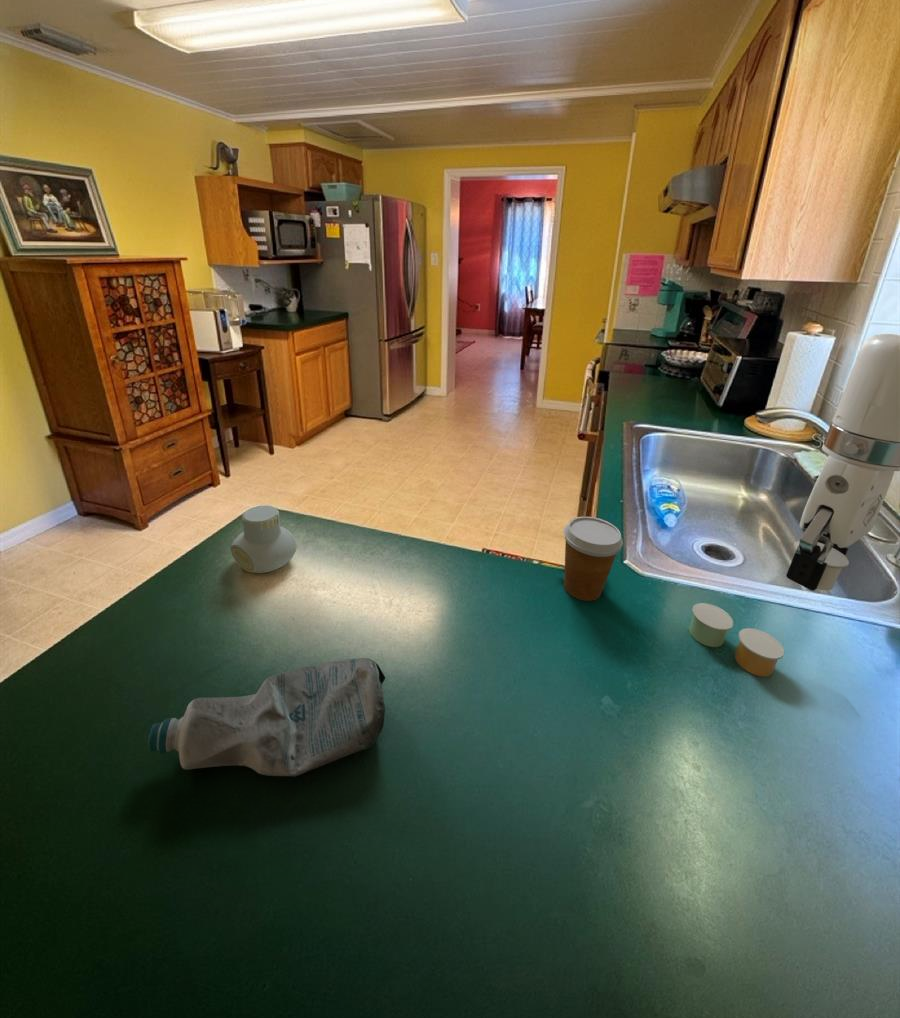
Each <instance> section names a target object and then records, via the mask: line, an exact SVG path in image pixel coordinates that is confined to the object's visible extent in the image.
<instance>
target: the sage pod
mask: <svg viewBox="0 0 900 1018" xmlns="http://www.w3.org/2000/svg"><path fill="white" fill-rule="evenodd" d="M691 609H692V610H691V612H692V615H693V616H692V619H691V622H690V624H689V625H690V626H689V628H688V630H689V631H688V632H689V634H690V636H691V637H692V638H693V639H694V640H695V641H697V642H698V643H700V644H701V645H704V646H706V647H710V648H719V647H721V646H722V645H724V642H725V639H726V637H727V634H728V631H730V630H732V628H733V627H734V626H733V625H734V620H733V618H732V616H731V615H730V614H729V613H728V612H726V611H725V610H724V609H722V608H721V607H720V606H717V605H714V604H711V603H706V602H699V603H696V604H694V605H693V606H692V608H691Z"/></svg>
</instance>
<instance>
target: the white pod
mask: <svg viewBox="0 0 900 1018" xmlns="http://www.w3.org/2000/svg"><path fill="white" fill-rule="evenodd" d="M799 543H800V539H799V540H796V541H795V542H794V545H793V548H794V551H796V549H797V547H798V545H799ZM817 545H818V546H820V547H821V551H822V549H823V547H824V545H825V544H822V543H819V542H818V544H817ZM825 563H827V566H826V568H825V571H824V573H823V575H822V578H821V580H820V582H819V584H818V587H817V589H816V590H818V591H831V590H832V589H833V588H834V587H835V585H836V583H837V580H838V579H839V576H840V574H841V572H842V569H845V568H847V567H848V566H849V564H850V560H849V558H848V557H847V556H846V555H844V554H842V553H841V552H839V551H838V550H836V549H834V548H832V549H831V551H830V553H829V554H828V556H827V558H826V560H825Z"/></svg>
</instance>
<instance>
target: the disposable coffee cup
mask: <svg viewBox="0 0 900 1018" xmlns="http://www.w3.org/2000/svg"><path fill="white" fill-rule="evenodd" d="M563 535H564V540H565V548H564V552H565V553H564V576H563V577H564V578H563V588H564V590H565V591H566V593H568V594H569V595H570V596H571V597H572V598H575V599H577V600H580V601H586V602H591V601H596V600H598V599H599V598H600V597H601V595H602V592H603V590H604V587H605V585H606V583H607V579H608V577H609V575H610V572H611V569H612V567H613V564H614V561H615V560H616V557H617V554H618V553H619V551H621V550H622V548H623V545H624V541H623V538H622V533H621V531H620V530H619V528H618V527H617V526H615V525H614V524H613V523H611V522H609V521H607V520H605V519H602V518H599V517H595V516H576V517H574V518H572V519H570V520H569V521H568V523H567V524H566V526H565V527H564V529H563Z"/></svg>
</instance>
